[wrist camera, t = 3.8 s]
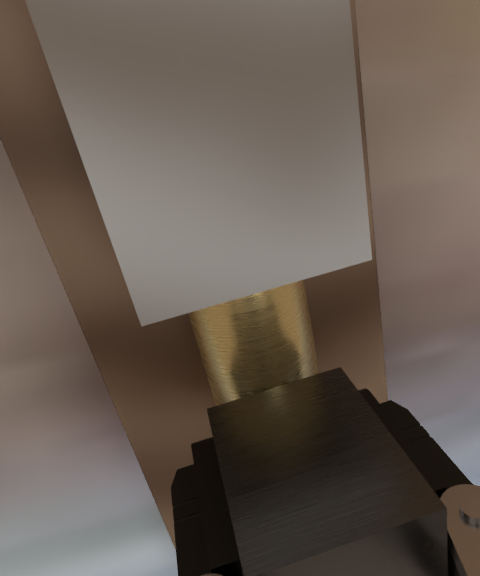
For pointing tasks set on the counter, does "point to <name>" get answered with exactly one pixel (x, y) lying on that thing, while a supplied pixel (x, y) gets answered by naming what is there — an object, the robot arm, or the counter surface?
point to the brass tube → (308, 453)
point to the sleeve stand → (193, 187)
